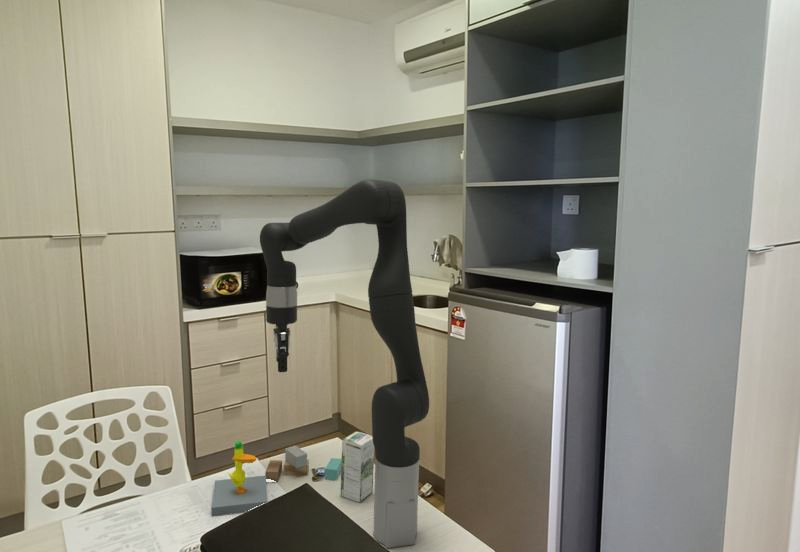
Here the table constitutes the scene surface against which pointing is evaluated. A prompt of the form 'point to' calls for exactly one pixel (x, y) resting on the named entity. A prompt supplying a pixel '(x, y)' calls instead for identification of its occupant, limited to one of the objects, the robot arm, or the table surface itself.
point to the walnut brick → (274, 470)
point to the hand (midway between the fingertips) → (281, 366)
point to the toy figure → (240, 467)
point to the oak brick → (295, 469)
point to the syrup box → (357, 466)
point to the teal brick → (333, 469)
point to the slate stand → (238, 495)
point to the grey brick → (296, 456)
